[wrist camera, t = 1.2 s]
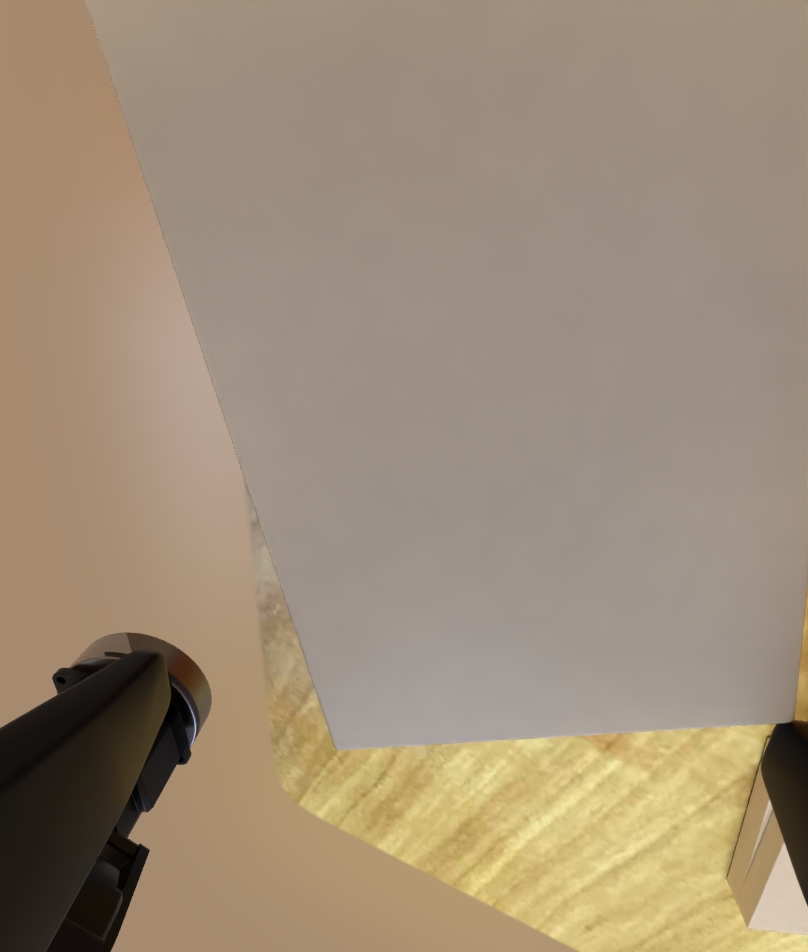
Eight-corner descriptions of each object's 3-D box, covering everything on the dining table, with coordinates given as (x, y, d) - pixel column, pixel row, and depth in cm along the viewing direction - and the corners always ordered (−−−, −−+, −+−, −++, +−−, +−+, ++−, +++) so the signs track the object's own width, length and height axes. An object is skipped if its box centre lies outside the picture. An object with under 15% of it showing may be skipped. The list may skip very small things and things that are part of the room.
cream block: (360, 647, 10) (333, 753, 8) (183, 20, 7) (49, -89, 5) (719, 613, 9) (798, 725, 7) (737, -153, 6) (909, -405, 4)
